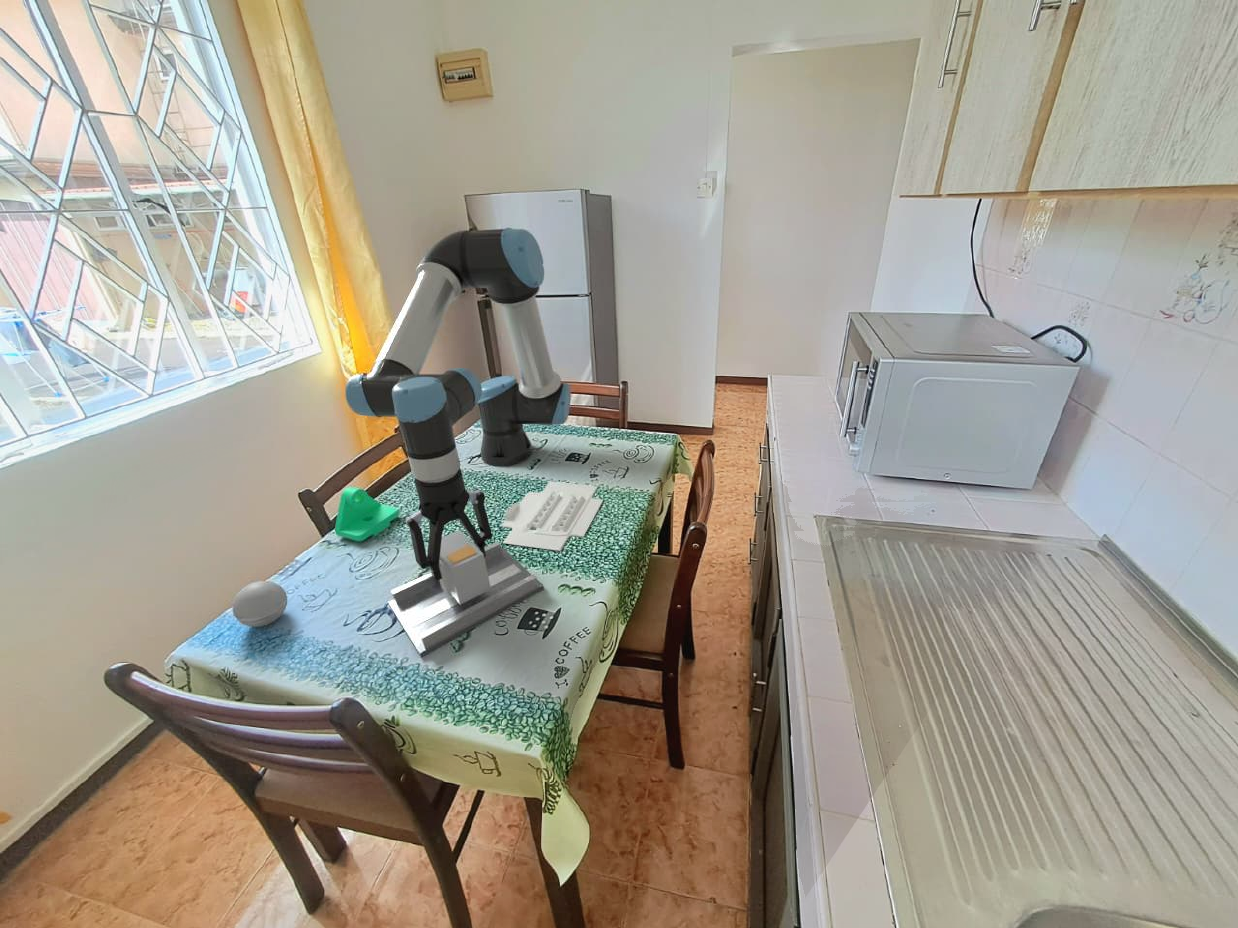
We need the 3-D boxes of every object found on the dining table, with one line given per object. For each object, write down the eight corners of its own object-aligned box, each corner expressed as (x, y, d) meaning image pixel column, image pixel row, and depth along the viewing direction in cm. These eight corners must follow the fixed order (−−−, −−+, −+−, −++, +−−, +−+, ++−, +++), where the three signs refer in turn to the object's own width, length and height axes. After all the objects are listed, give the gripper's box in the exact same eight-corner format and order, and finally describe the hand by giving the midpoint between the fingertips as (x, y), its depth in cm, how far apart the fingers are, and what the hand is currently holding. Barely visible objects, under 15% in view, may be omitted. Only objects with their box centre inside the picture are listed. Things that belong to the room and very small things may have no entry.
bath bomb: (282, 598, 95) (266, 566, 91) (301, 614, 91) (286, 581, 87) (235, 624, 89) (217, 591, 85) (254, 643, 85) (235, 609, 81)
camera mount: (362, 545, 109) (348, 507, 104) (338, 539, 112) (323, 501, 107) (402, 517, 119) (391, 481, 114) (379, 511, 122) (367, 475, 117)
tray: (610, 490, 128) (609, 477, 126) (576, 560, 104) (574, 546, 102) (538, 483, 132) (536, 471, 131) (489, 548, 109) (486, 535, 107)
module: (467, 563, 96) (459, 529, 92) (490, 588, 89) (483, 552, 86) (437, 577, 93) (428, 542, 89) (460, 604, 86) (450, 568, 82)
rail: (503, 551, 105) (501, 538, 103) (543, 589, 94) (541, 575, 92) (389, 606, 92) (385, 592, 90) (421, 657, 81) (416, 642, 79)
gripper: (480, 448, 88) (499, 550, 99) (370, 484, 77) (405, 595, 88) (500, 461, 83) (518, 568, 94) (385, 502, 72) (420, 618, 83)
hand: (463, 581), depth 91 cm, fingers closed on module, 6 cm apart
